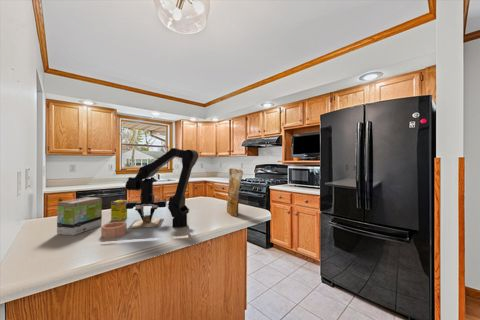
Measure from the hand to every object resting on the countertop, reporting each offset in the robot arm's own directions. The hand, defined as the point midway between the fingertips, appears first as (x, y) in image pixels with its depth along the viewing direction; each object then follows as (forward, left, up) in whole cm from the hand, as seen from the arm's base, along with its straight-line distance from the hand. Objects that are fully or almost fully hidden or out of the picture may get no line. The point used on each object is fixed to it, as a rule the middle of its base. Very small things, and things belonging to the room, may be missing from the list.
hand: (147, 221), depth 110 cm
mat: (0, 0, -2) cm, 2 cm away
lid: (0, 0, -1) cm, 1 cm away
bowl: (+11, +13, -2) cm, 17 cm away
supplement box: (+17, -13, -3) cm, 22 cm away
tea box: (+30, 0, -3) cm, 30 cm away
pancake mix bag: (-48, -15, -2) cm, 50 cm away
